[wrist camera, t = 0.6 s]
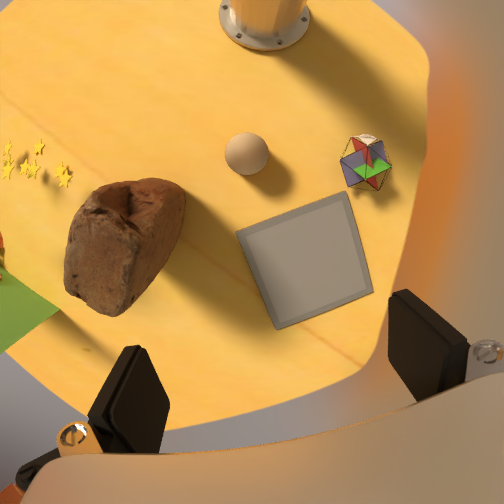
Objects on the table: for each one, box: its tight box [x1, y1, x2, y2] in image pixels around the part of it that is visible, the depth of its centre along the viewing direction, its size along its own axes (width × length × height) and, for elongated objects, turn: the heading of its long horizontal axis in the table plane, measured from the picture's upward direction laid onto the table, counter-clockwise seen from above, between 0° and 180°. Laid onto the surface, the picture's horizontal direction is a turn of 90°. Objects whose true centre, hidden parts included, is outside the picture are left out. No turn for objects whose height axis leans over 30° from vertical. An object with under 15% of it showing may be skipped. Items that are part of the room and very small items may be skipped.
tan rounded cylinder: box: [225, 133, 269, 175], centre depth 36 cm, size 5×5×5 cm
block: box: [64, 178, 185, 317], centre depth 31 cm, size 11×8×20 cm
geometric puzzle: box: [339, 134, 393, 192], centre depth 36 cm, size 7×7×8 cm
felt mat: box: [236, 191, 373, 330], centre depth 43 cm, size 16×16×1 cm
